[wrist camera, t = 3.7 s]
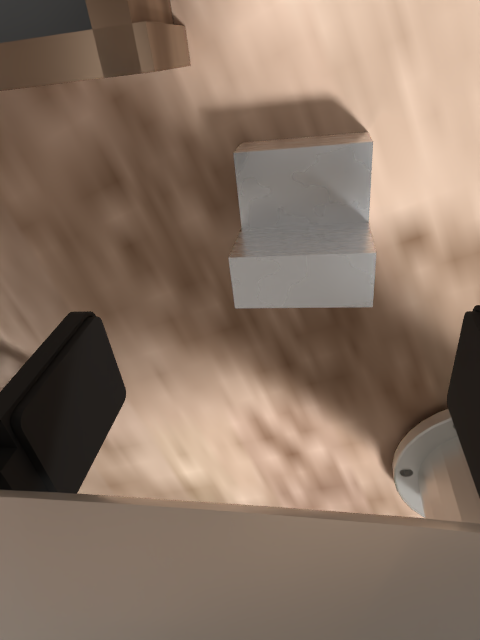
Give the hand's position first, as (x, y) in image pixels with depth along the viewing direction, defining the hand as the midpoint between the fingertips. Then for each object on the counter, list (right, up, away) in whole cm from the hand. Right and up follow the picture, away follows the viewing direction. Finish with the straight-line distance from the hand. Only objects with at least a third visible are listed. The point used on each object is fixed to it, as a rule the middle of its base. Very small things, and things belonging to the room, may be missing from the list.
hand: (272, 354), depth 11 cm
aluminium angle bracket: (+3, +7, +11) cm, 13 cm away
